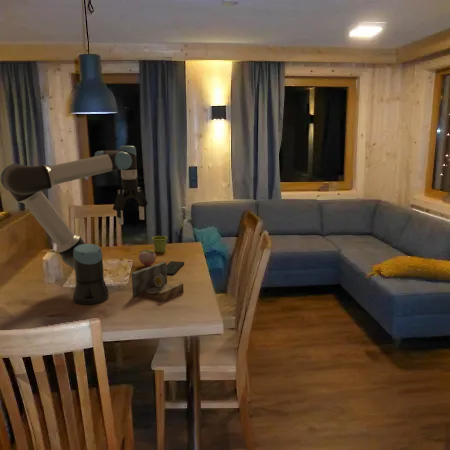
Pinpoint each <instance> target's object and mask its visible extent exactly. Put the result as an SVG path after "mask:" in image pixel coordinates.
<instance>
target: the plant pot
mask: <svg viewBox="0 0 450 450" xmlns="http://www.w3.org/2000/svg"><path fill="white" fill-rule="evenodd" d="M151 239H152V242H153V246H154V252H155V253H164V252H166V247H167V240H168V236H165V235H156V236H153V237H151Z"/></svg>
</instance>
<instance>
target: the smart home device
mask: <svg viewBox="0 0 450 450" xmlns="http://www.w3.org/2000/svg"><path fill="white" fill-rule="evenodd" d="M166 264H167V276H172V277H173V276H176V274H177V273H178V272H179V270H180V269H181V268H182V267H183V266H184V265H185V262H184V261H169V262H168V263H166Z"/></svg>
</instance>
